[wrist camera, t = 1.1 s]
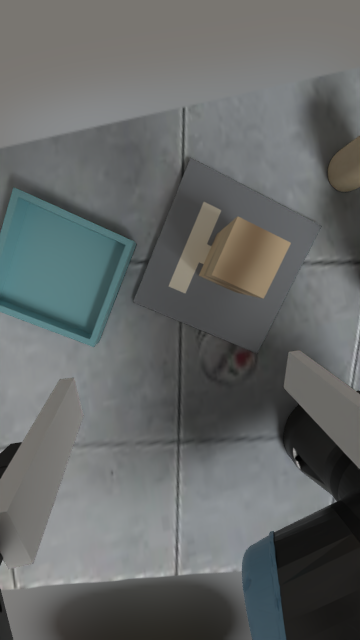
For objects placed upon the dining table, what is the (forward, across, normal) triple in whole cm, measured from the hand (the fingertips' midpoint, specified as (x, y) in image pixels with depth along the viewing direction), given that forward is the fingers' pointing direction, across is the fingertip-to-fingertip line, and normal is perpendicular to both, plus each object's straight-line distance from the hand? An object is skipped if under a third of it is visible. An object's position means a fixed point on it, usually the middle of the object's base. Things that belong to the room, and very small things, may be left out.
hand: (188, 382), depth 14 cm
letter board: (+20, -9, -4) cm, 22 cm away
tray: (+22, +13, -4) cm, 26 cm away
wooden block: (+19, -9, -4) cm, 22 cm away
